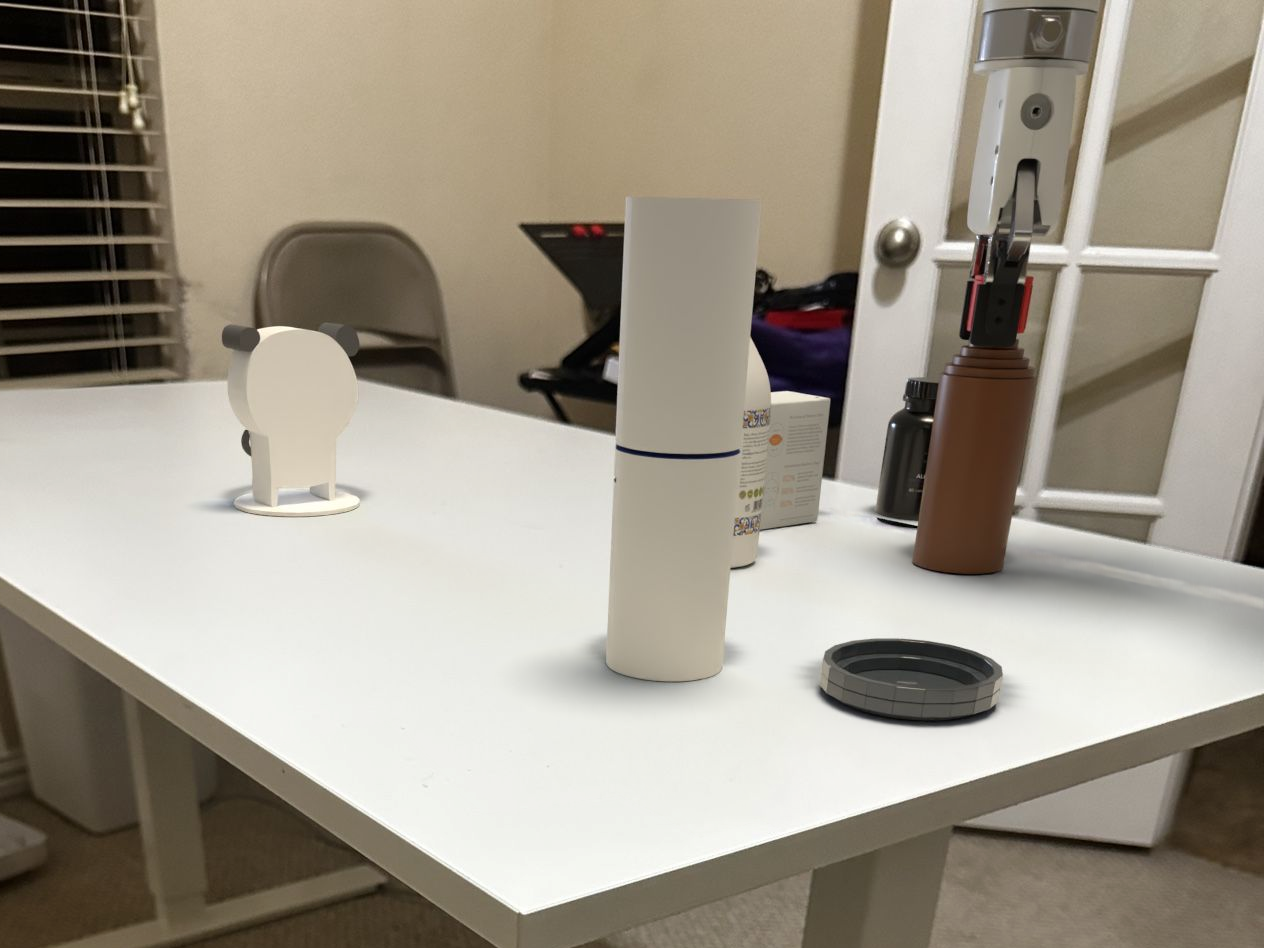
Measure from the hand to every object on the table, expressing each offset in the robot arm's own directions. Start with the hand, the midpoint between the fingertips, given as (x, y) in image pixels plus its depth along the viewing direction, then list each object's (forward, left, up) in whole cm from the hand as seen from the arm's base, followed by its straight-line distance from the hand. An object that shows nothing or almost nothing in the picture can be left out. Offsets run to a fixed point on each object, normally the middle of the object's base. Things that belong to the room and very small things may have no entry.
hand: (986, 340), depth 102 cm
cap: (0, 0, +1) cm, 1 cm away
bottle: (-1, 0, -16) cm, 16 cm away
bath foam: (+12, +15, -17) cm, 25 cm away
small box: (+20, 0, -17) cm, 26 cm away
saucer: (-19, +31, -16) cm, 40 cm away
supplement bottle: (+12, -11, -17) cm, 23 cm away
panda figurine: (+50, +30, -17) cm, 61 cm away
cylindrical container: (-6, +38, -17) cm, 42 cm away
